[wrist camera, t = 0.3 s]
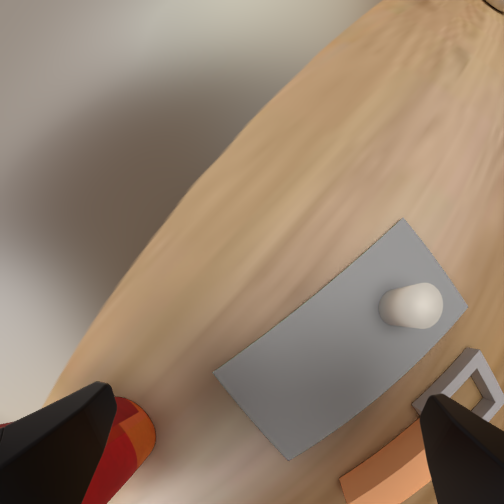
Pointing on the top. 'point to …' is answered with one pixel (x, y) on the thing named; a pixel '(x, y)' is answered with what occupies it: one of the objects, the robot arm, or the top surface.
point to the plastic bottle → (497, 4)
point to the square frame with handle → (418, 439)
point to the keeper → (345, 343)
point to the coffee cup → (121, 451)
